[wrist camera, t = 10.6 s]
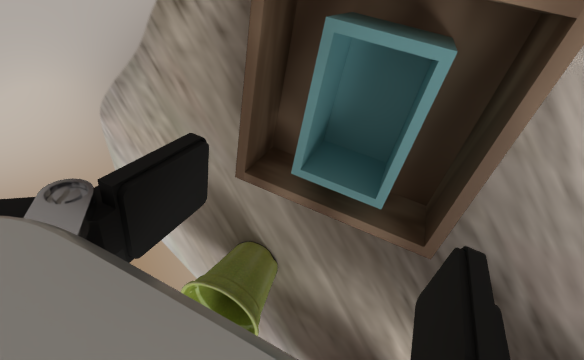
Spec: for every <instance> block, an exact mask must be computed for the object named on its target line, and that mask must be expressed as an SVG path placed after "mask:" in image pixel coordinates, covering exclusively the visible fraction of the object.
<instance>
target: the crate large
mask: <svg viewBox="0 0 584 360" xmlns="http://www.w3.org/2000/svg"><path fill="white" fill-rule="evenodd" d="M349 12H355V13H359V14H362V15H366V16H370V17H374V18H378V19H382V20H386V21H390V22H394V23H398V24H402V25H405V26H409V27H413V28H417V29H421V30H425V31H429V32H433V33H437V34H441V35H444V36H448V37H452V38H453V40H454V43H455V45H456V48H457V51H458V52H457V54H456V56H455V58H454V60H453V62H452V65H451V67H450V69H449V71H448V73H447V75H446V77H445V79H444V81H443V83H442V85H441V87H440V89H439V91H438V93H437V96H436V98H435V100H434V102H433V104H432V106H431V108H430V110H429V112H428V114H427V116H426V118H425V120H424V122H423V124H422V127H421V129H420V131H419V133H418V135H417V137H416V139H415V141H414V143H413V145H412V147H411V149H410V151H409V153H408V155H407V158H406V160H405V162H404V164H403V166H402V168H401V170H400V172H399V174H398V176H397V178H396V180H395V182H394V184H393V187H392V189H391V191H390V193H389V195H388V197H387V199H386V201H385V203H384V205H383V207H382V209H378V208H376V207H373V206H371V205H368V204H366V203H363V202H361V201H358V200H356V199H353V198H351V197H348V196H346V195H343V194H341V193H338V192H336V191H333V190H331V189H328V188H326V187H323V186H321V185H318V184H316V183H313V182H311V181H308V180H306V179H303V178H301V177H298V176H296V175H293V174H291V171H292V167H293V162H294V158H295V153H296V149H297V145H298V140H299V136H300V131H301V127H302V122H303V118H304V113H305V109H306V104H307V100H308V95H309V91H310V86H311V82H312V77H313V73H314V68H315V64H316V60H317V55H318V51H319V46H320V42H321V37H322V33H323V28H324V24H325V19H326V17H327V16H332V15H338V14H343V13H349ZM583 45H584V0H251V11H250V22H249V32H248V43H247V54H246V65H245V76H244V87H243V98H242V108H241V119H240V130H239V141H238V152H237V163H236V174H235V177H237V178H239V179H241V180H244V181H246V182H248V183H251V184H253V185H255V186H258V187H260V188H263V189H265V190H267V191H270V192H272V193H274V194H277V195H279V196H282V197H284V198H286V199H289V200H291V201H293V202H296V203H298V204H300V205H303V206H305V207H308V208H310V209H312V210H315V211H317V212H319V213H322V214H324V215H327V216H329V217H331V218H334V219H336V220H338V221H341V222H343V223H345V224H348V225H350V226H353V227H355V228H357V229H360V230H362V231H364V232H367V233H369V234H372V235H374V236H376V237H379V238H381V239H383V240H386V241H388V242H390V243H393V244H395V245H398V246H400V247H402V248H405V249H407V250H409V251H412V252H414V253H417V254H419V255H421V256H424V257H426V258H428V259H431V258H432V257H433V255H434V254H435V253H436V251H437V250H438V248H439V247H440V246H441V244H442V243H443V241H444V240H445V239H446V237H447V236H448V234H449V233H450V232H451V230H452V229H453V227H454V226H455V225H456V223H457V222H458V220H459V219H460V218H461V216H462V215H463V213H464V212H465V210H466V209H467V208H468V206H469V205H470V203H471V202H472V201H473V199H474V198H475V196H476V195H477V194H478V192H479V191H480V189H481V188H482V187H483V185H484V184H485V182H486V181H487V180H488V178H489V177H490V175H491V174H492V173H493V171H494V170H495V168H496V167H497V166H498V164H499V163H500V161H501V160H502V159H503V157H504V156H505V154H506V153H507V151H508V150H509V149H510V147H511V146H512V144H513V143H514V142H515V140H516V139H517V137H518V136H519V135H520V133H521V132H522V130H523V129H524V128H525V126H526V125H527V123H528V122H529V121H530V119H531V118H532V116H533V115H534V114H535V112H536V111H537V109H538V108H539V107H540V105H541V104H542V102H543V101H544V100H545V98H546V97H547V95H548V94H549V92H550V91H551V90H552V88H553V87H554V85H555V84H556V83H557V81H558V80H559V78H560V77H561V76H562V74H563V73H564V71H565V70H566V69H567V67H568V66H569V64H570V63H571V62H572V60H573V59H574V57H575V56H576V55H577V53H578V52H579V50H580V49H581V48H582V46H583Z"/></svg>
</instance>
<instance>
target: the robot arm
mask: <svg viewBox="0 0 584 360" xmlns="http://www.w3.org/2000/svg"><path fill="white" fill-rule="evenodd" d="M208 158H209V145H208V144H207V143H206V139H205V138H203V137H201V136H198V135H196V134H193V133H189V134H187V135H185V136H183V137H181V138H179V139H177V140H175V141H173V142H171V143H169V144H167V145H165V146H163V147H161V148H159V149H157V150H155V151H153V152H151V153H149V154H147V155H145V156H143V157H141V158H139V159H137V160H135V161H133V162H131V163H129V164H127V165H125V166H123V167H122V168H120V169H118V170H116V171H114V172H112V173H110V174H108V175H106V176H104V177H102V178H100V179H98V184H99V185H98V186H97V187H95V188H94V187H93V186H92V184H91V183H89V182H88V181H85V180H82V179H64V180H60V181H56V182H53V183H51V184H48V185H47V186H45V187H44V188H42V189H41V190H40V191H39V192H38V194H37V196H36V197H28V198H14V199H0V360H298V359H296V358H294V357H293V356H291V355H289V354H287V353H286V352H284V351H282V350H281V349H279V348H277V347H275V346H274V345H272V344H270V343H268V342H267V341H265V340H263V339H262V338H260V337H258V336H256V335H255V334H253V333H251V332H249V331H248V330H246V329H244V328H242V327H241V326H239V325H237V324H235V323H234V322H232V321H230V320H228V319H227V318H225V317H223V316H221V315H220V314H218V313H216V312H214V311H213V310H211V309H209V308H207V307H206V306H204V305H202V304H200V303H199V302H197V301H195V300H193V299H192V298H190V297H188V296H186V295H185V294H183V293H181V292H179V291H178V290H176V289H174V288H172V287H170V286H168V285H167V284H165V283H163V282H162V281H160V280H158V279H156V278H154V277H153V276H151V275H149V274H147V273H145V272H144V271H142V270H140V269H138V268H137V267H135V266H133V265H131V264H130V262H131V261H132V260H133V259H134V258H135V259H137V258H140V257H141V256H143V255H144V254H145V253H146V252H147V251H149V250H150V249H151V248H152V247H153V246H155V245H156V244H157V243H158V242H159V241H161V240H162V239H163V238H164V237H165V236H167V235H168V234H169V233H170V232H171V231H173V230H174V229H175V228H176V227H177V226H179V225H180V224H181V223H182V222H183V221H185V220H186V219H187V218H188V217H189V216H191V215H192V214H193V213H194V212H195V211H196V210H198V209H199V208H200V207H201V206H202V205H203V204H204V203H205V202H206V199H207V187H208ZM411 360H510V355H509V350H508V345H507V340H506V335H505V329H504V324H503V319H502V314H501V311H500V308H499V307H498V306H497V305H495V304H494V299H493V293H492V287H491V282H490V276H489V270H488V264H487V259H486V255H485V254H484V253H481V252H479V251H476V250H474V249H471V248H469V247H467V246H464V247H463V248H461V249H459V248H455V249H454V250H453V251H452V253H451V254H450V255H449V257H448V258H447V259H446V261H445V262H444V263H443V265H442V266H441V267H440V269H439V270H438V271H437V273H436V274H435V275H434V277H433V278H432V280H431V281H430V282H429V284H428V285H427V286H426V288H425V289H424V290H423V292H422V293H421V294H420V296H419V297H418V299H417V302H416V306H415V317H414V328H413V339H412V351H411Z"/></svg>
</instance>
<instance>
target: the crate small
mask: <svg viewBox="0 0 584 360" xmlns="http://www.w3.org/2000/svg"><path fill="white" fill-rule="evenodd" d="M457 52H458V51H457V48H456V45H455V43H454V40H453V38H452V37H448V36H444V35H441V34H437V33H433V32H429V31H425V30H421V29H417V28H413V27H409V26H405V25H402V24H398V23H394V22H390V21H386V20H382V19H378V18H374V17H370V16H366V15H362V14H359V13H355V12H349V13H343V14H338V15H332V16H327V17H326V19H325V24H324V28H323V33H322V37H321V42H320V46H319V51H318V55H317V60H316V64H315V68H314V73H313V77H312V82H311V86H310V91H309V95H308V100H307V104H306V109H305V113H304V118H303V122H302V127H301V131H300V136H299V140H298V145H297V149H296V153H295V158H294V162H293V167H292V171H291V174H293V175H296V176H298V177H301V178H303V179H306V180H308V181H311V182H313V183H316V184H318V185H321V186H323V187H326V188H328V189H331V190H333V191H336V192H338V193H341V194H343V195H346V196H348V197H351V198H353V199H356V200H358V201H361V202H363V203H366V204H368V205H371V206H373V207H376V208H378V209H382V207H383V205H384V203H385V201H386V199H387V197H388V195H389V193H390V191H391V189H392V187H393V184H394V182H395V180H396V178H397V176H398V174H399V172H400V170H401V168H402V166H403V164H404V162H405V160H406V158H407V155H408V153H409V151H410V149H411V147H412V145H413V143H414V141H415V139H416V137H417V135H418V133H419V131H420V129H421V127H422V124H423V122H424V120H425V118H426V116H427V114H428V112H429V110H430V108H431V106H432V104H433V102H434V100H435V98H436V96H437V93H438V91H439V89H440V87H441V85H442V83H443V81H444V79H445V77H446V75H447V73H448V71H449V69H450V67H451V65H452V62H453V60H454V58H455V56H456V54H457Z"/></svg>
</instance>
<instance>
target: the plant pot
mask: <svg viewBox="0 0 584 360" xmlns="http://www.w3.org/2000/svg"><path fill="white" fill-rule="evenodd" d="M276 273H277V263H276V261H274V259H273V258H272V256H271V254H270V252H269V251H268V250H267V249H266V248H264V247H263V246H261V245H259V244H256V243H253V242H245V243H242V244H238V245H237V246H236V247H235V248H234V249H233V250H232V251H231V252H229V253H228V254H227V255H226V256H225V257H224V258H223V259H222V260H221V261H220V262H218V263H217V264H216V265H215V266H214V267H213V268H212V269H211V270H209V271H208V272H207V273H206V274H205V275H203V276H201V277H199V278H198V279H196V280H195V281H191V282H189V283H187V284H186V285H185V286H184V287H183V288H182V290H181V293H183V294H185V295H186V296H188V297H190V298H192V299H193V300H195V301H197V302H199V303H200V304H202V305H204V306H206V307H207V308H209V309H211V310H213V311H214V312H216V313H218V314H220V315H221V316H223V317H225V318H227V319H228V320H230V321H232V322H234V323H235V324H237V325H239V326H241V327H242V328H244V329H246V330H248V331H249V332H251V333H253V334H255V335H256V336H258V332H259V330H258V325H259V322H260V315H261V312H262V309H263V307H264V304H265V301H266V299H267V296H268V293H269V291H270V288H271V286H272V283H273V281H274V278H275V275H276Z"/></svg>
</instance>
